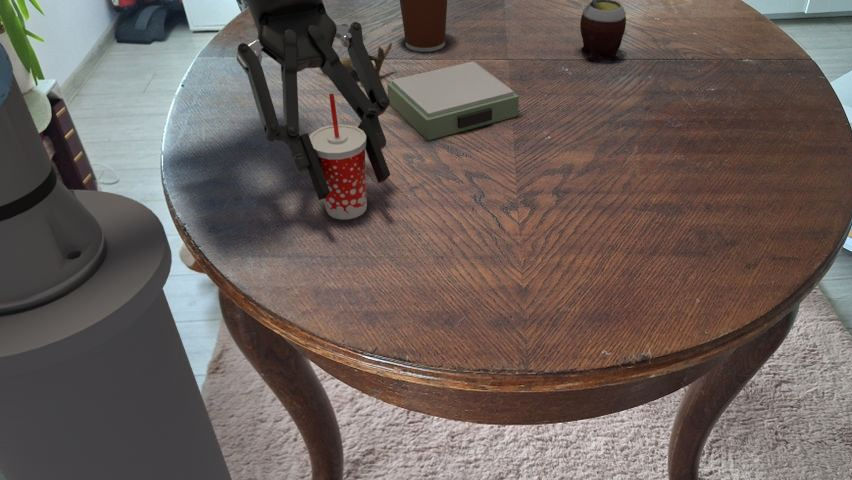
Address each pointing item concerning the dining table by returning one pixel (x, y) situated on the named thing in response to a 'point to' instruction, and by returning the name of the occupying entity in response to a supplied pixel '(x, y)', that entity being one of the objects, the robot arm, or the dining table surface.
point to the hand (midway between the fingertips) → (354, 187)
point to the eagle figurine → (378, 60)
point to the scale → (452, 100)
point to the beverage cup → (342, 166)
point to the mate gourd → (602, 28)
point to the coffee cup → (424, 24)
